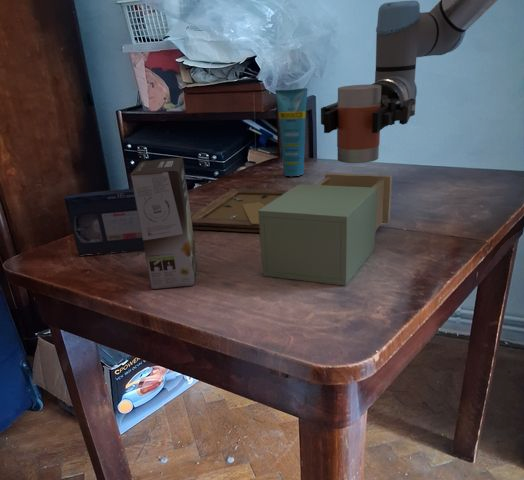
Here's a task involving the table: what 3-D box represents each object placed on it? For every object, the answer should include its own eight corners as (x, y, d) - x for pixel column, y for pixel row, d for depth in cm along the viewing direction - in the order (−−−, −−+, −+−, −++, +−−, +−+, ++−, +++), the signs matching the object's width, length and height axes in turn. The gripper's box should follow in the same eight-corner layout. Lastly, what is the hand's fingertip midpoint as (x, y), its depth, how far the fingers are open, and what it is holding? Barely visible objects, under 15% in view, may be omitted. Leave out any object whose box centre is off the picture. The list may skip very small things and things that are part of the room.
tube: (277, 178, 130) (273, 90, 120) (280, 173, 134) (276, 88, 124) (308, 177, 128) (306, 88, 119) (310, 172, 132) (308, 86, 123)
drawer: (335, 210, 100) (335, 167, 96) (395, 214, 96) (398, 169, 92) (299, 241, 87) (297, 193, 83) (368, 247, 82) (369, 196, 78)
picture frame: (277, 234, 93) (314, 198, 112) (276, 224, 92) (314, 189, 111) (183, 229, 99) (233, 195, 118) (181, 220, 98) (232, 187, 117)
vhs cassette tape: (77, 257, 90) (62, 198, 85) (81, 251, 93) (67, 193, 88) (186, 247, 91) (177, 187, 86) (187, 241, 93) (178, 183, 88)
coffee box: (195, 286, 76) (179, 170, 68) (151, 290, 76) (128, 174, 68) (198, 262, 84) (183, 156, 76) (157, 266, 84) (138, 160, 76)
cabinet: (300, 242, 89) (298, 184, 84) (374, 249, 84) (377, 187, 79) (262, 275, 78) (257, 210, 73) (346, 286, 73) (346, 216, 68)
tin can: (383, 155, 87) (386, 83, 82) (372, 163, 82) (374, 88, 77) (344, 154, 90) (345, 85, 85) (331, 162, 85) (331, 89, 80)
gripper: (437, 124, 95) (415, 150, 77) (331, 125, 103) (289, 149, 85) (441, 77, 92) (420, 93, 74) (331, 82, 99) (287, 97, 81)
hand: (350, 123), depth 79 cm, fingers closed on tin can, 7 cm apart
